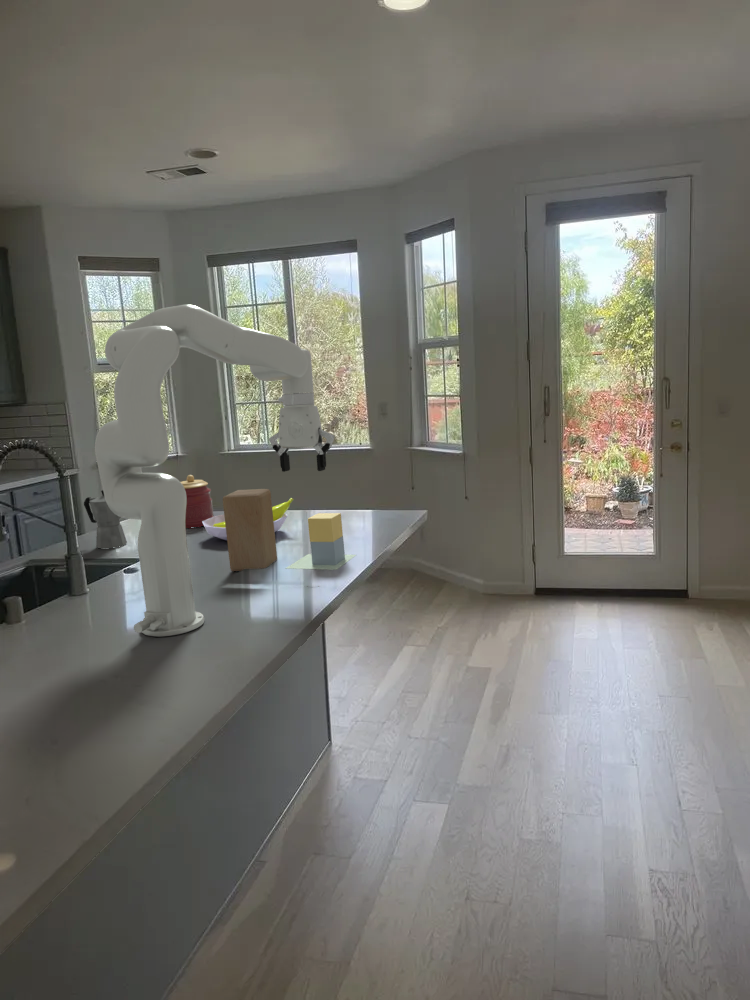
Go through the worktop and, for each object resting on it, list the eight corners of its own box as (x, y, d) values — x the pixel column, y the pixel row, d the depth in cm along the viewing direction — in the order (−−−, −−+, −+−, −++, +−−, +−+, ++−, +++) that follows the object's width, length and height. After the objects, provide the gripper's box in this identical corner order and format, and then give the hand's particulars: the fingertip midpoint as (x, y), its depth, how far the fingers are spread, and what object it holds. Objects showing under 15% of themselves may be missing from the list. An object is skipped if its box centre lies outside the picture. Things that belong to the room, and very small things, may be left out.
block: (266, 572, 187) (258, 494, 184) (229, 572, 189) (220, 496, 186) (278, 561, 197) (271, 488, 193) (243, 562, 199) (235, 489, 195)
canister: (222, 522, 258) (217, 472, 255) (195, 530, 247) (189, 478, 244) (196, 520, 265) (190, 471, 262) (168, 528, 254) (162, 477, 251)
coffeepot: (138, 542, 234) (130, 487, 231) (117, 550, 225) (109, 492, 222) (101, 541, 240) (93, 487, 237) (79, 548, 232) (71, 492, 228)
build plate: (336, 573, 181) (336, 569, 181) (285, 572, 185) (285, 568, 185) (356, 558, 194) (356, 554, 194) (308, 557, 198) (308, 554, 198)
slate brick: (335, 565, 185) (333, 541, 184) (312, 564, 187) (310, 541, 186) (345, 558, 191) (343, 535, 190) (322, 558, 193) (320, 535, 192)
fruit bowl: (187, 546, 223) (183, 510, 221) (231, 526, 248) (228, 493, 246) (270, 547, 214) (267, 509, 212) (308, 526, 239) (304, 492, 237)
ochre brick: (333, 541, 184) (331, 518, 183) (309, 541, 186) (307, 518, 185) (342, 535, 190) (340, 513, 188) (320, 535, 192) (318, 513, 191)
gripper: (259, 403, 179) (265, 473, 181) (325, 399, 173) (329, 472, 175) (274, 402, 186) (279, 469, 188) (337, 398, 180) (341, 468, 182)
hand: (303, 470), depth 182 cm, fingers open, 9 cm apart
